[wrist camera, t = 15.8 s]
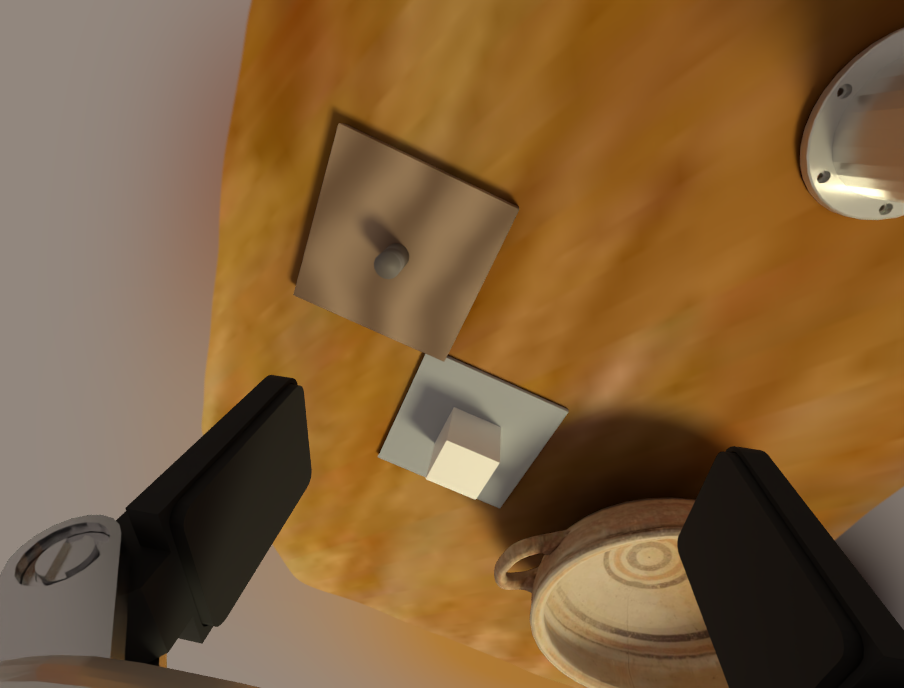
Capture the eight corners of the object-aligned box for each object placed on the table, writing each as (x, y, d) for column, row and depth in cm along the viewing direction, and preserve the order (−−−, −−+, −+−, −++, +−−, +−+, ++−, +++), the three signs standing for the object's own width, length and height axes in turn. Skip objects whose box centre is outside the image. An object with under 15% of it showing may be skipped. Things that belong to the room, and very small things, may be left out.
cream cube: (453, 406, 45) (446, 440, 40) (501, 427, 45) (499, 462, 40) (434, 443, 47) (425, 479, 42) (479, 462, 48) (475, 499, 43)
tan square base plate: (519, 206, 36) (520, 216, 31) (446, 355, 43) (438, 380, 38) (345, 123, 34) (320, 121, 30) (300, 290, 42) (275, 307, 37)
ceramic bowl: (467, 574, 57) (459, 654, 48) (537, 411, 44) (544, 480, 35) (726, 649, 57) (766, 743, 48) (872, 508, 44) (963, 601, 35)
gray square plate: (567, 409, 44) (568, 411, 43) (499, 505, 51) (499, 508, 50) (428, 347, 43) (427, 349, 42) (379, 454, 50) (377, 457, 49)
